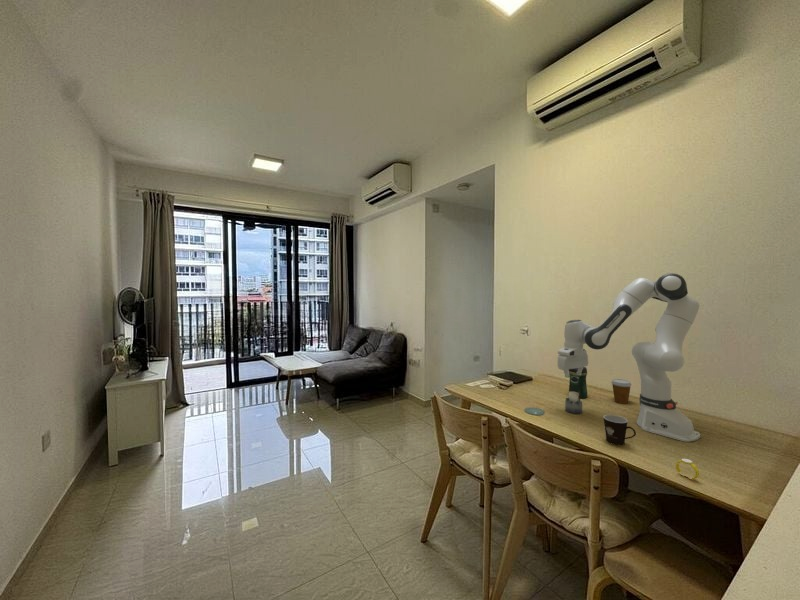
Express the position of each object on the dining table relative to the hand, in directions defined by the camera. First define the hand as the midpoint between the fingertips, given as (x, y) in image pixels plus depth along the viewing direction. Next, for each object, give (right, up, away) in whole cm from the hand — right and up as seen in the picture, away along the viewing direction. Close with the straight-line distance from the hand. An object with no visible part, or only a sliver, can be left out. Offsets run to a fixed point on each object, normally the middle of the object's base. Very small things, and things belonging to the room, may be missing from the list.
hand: (573, 376), depth 168 cm
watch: (+8, -21, -58) cm, 63 cm away
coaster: (-20, -19, +2) cm, 28 cm away
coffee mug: (0, -21, -34) cm, 40 cm away
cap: (0, -14, 0) cm, 14 cm away
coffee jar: (+16, -18, +24) cm, 34 cm away
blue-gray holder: (+1, -19, +1) cm, 19 cm away
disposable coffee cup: (+35, -18, +13) cm, 41 cm away
